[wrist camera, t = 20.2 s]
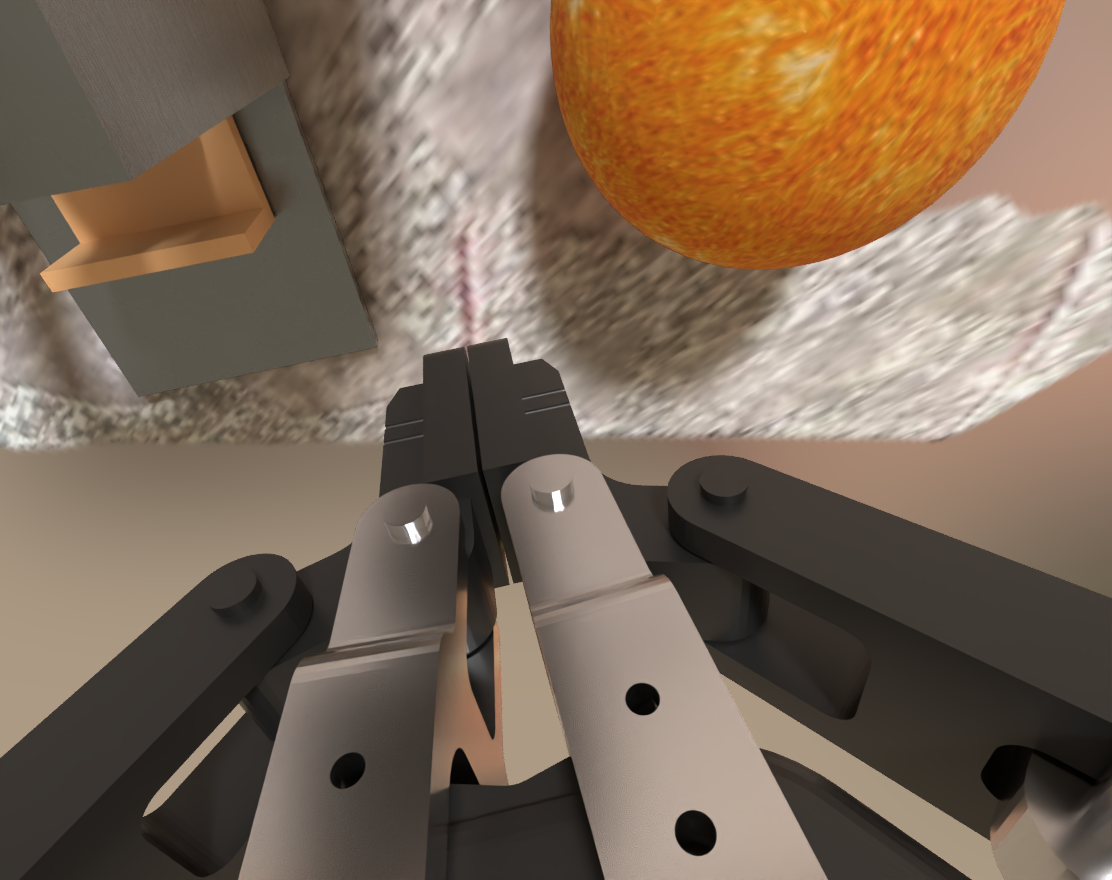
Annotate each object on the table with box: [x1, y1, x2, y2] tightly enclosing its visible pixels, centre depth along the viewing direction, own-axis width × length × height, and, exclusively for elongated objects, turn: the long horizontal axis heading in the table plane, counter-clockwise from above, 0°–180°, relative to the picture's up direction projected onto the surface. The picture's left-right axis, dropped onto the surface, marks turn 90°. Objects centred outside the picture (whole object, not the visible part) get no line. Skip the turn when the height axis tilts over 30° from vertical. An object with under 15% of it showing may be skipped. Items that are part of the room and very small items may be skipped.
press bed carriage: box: [40, 115, 275, 292], centre depth 28 cm, size 16×10×6 cm, turn 8°
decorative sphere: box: [550, 0, 1066, 269], centre depth 27 cm, size 20×20×20 cm
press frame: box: [0, 0, 378, 397], centre depth 23 cm, size 27×17×27 cm, turn 8°
